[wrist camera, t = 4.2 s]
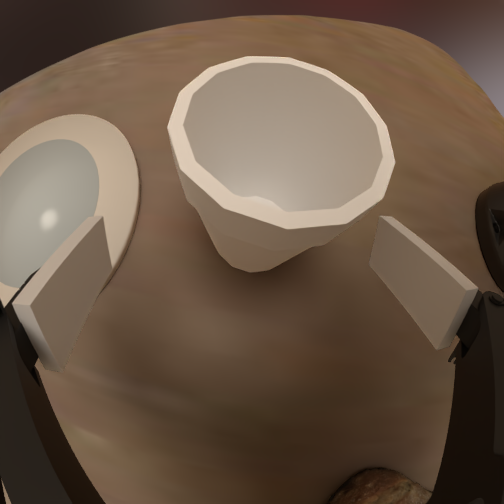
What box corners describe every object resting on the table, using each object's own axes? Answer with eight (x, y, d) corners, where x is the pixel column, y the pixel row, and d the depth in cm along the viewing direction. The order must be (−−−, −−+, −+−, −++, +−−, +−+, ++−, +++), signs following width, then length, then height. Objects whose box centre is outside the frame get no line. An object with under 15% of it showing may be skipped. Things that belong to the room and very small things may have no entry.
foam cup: (308, 298, 22) (407, 245, 9) (186, 286, 21) (143, 214, 9) (309, 189, 25) (372, 78, 12) (203, 176, 24) (197, 48, 12)
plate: (87, 93, 26) (84, 86, 25) (191, 220, 23) (190, 213, 21) (-42, 210, 20) (-48, 206, 19) (13, 376, 17) (5, 377, 15)
